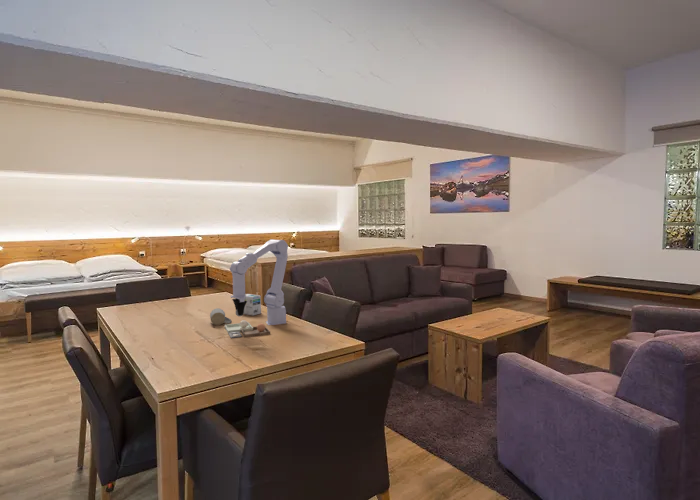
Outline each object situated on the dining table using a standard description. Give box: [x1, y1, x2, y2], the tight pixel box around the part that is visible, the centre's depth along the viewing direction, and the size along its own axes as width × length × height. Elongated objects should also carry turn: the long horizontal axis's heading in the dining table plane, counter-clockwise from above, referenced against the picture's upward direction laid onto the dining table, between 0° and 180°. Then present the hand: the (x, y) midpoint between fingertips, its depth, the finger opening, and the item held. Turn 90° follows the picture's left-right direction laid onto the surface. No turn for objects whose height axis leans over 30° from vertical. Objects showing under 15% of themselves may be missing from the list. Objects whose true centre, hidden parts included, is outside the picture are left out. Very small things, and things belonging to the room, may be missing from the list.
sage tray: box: [224, 321, 254, 334], centre depth 205 cm, size 12×12×2 cm
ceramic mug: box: [209, 307, 232, 326], centre depth 216 cm, size 11×8×8 cm
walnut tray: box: [240, 325, 271, 338], centre depth 198 cm, size 12×12×2 cm
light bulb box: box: [243, 293, 262, 316], centre depth 239 cm, size 11×7×11 cm, turn 58°
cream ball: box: [239, 319, 248, 328], centre depth 206 cm, size 4×4×4 cm
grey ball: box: [234, 309, 245, 317], centre depth 200 cm, size 4×4×4 cm
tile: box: [227, 332, 243, 339], centre depth 194 cm, size 5×8×1 cm, turn 24°
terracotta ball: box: [257, 323, 266, 332], centre depth 199 cm, size 4×4×4 cm
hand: (239, 314), depth 200 cm, fingers closed on grey ball, 4 cm apart
